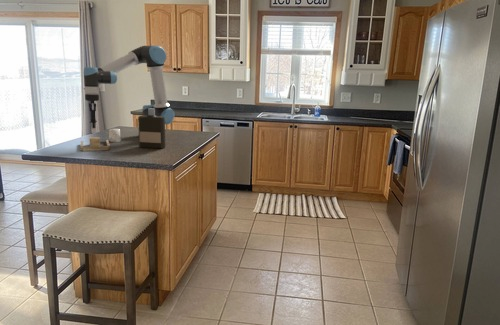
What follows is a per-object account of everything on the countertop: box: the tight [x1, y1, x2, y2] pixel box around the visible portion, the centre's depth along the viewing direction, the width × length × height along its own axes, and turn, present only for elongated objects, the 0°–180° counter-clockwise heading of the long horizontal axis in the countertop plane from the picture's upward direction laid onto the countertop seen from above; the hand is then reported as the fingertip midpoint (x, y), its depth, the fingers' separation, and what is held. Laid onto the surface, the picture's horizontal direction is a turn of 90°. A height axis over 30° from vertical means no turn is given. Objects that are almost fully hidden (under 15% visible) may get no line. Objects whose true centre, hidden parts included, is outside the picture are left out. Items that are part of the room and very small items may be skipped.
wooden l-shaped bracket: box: [80, 139, 111, 152], centre depth 225 cm, size 20×16×2 cm
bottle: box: [137, 108, 166, 150], centre depth 228 cm, size 8×16×25 cm, turn 88°
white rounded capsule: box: [108, 128, 122, 143], centre depth 244 cm, size 7×7×8 cm
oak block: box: [89, 136, 101, 147], centre depth 229 cm, size 6×6×5 cm
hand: (94, 133), depth 218 cm, fingers closed
